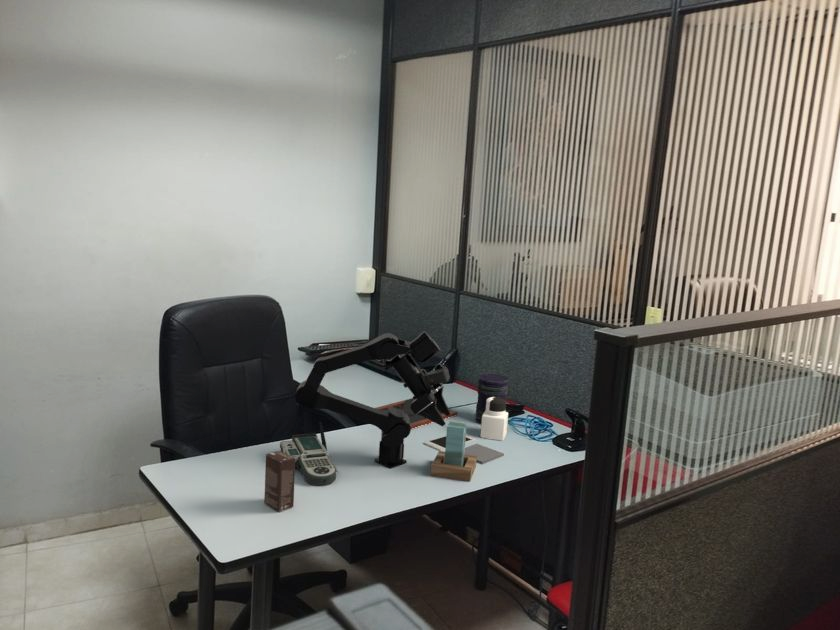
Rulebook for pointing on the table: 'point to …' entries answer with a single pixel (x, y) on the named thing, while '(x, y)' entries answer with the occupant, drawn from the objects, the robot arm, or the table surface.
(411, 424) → the picture frame
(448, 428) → the peg
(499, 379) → the storage jar
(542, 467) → the table surface
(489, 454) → the mat
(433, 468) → the pocket block
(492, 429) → the medicine bottle
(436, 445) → the smartphone
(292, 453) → the communication device
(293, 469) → the box
